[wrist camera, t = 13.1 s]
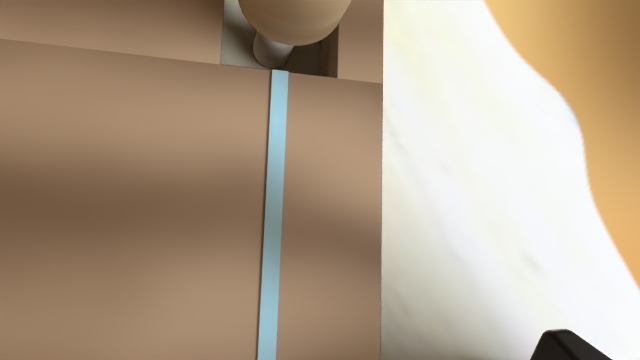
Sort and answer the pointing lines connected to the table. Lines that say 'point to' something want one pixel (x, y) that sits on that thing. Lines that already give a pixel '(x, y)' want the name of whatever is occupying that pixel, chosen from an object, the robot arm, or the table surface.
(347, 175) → the subfloor panel
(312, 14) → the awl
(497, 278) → the table surface
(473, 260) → the table surface
